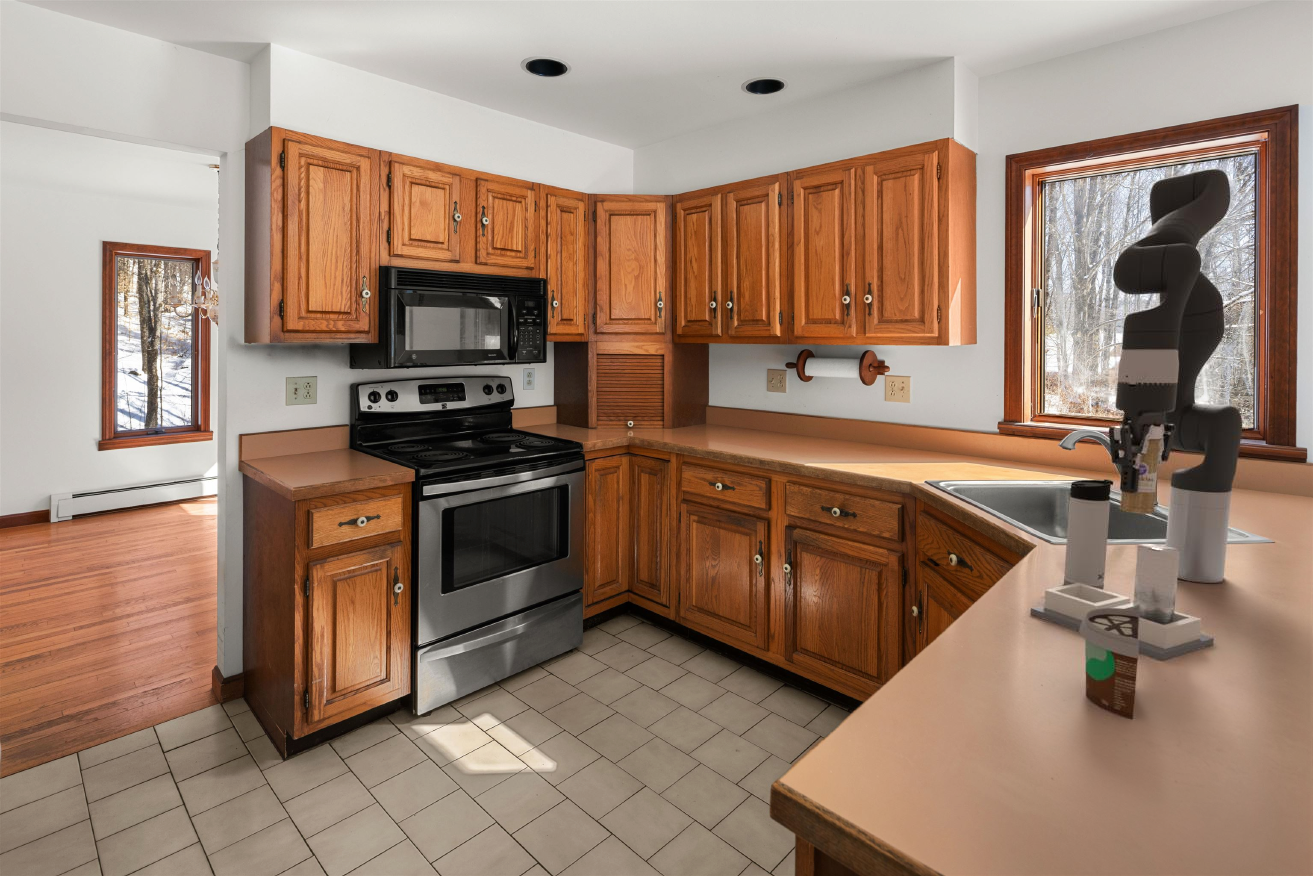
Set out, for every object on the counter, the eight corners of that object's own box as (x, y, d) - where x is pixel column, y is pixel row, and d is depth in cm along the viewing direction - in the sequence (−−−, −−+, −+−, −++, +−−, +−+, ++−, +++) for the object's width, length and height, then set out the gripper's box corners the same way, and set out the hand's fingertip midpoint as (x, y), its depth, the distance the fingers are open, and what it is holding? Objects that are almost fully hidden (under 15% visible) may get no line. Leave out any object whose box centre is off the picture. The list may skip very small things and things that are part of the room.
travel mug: (1111, 593, 126) (1119, 483, 124) (1071, 591, 127) (1078, 482, 125) (1097, 582, 132) (1104, 477, 130) (1058, 580, 133) (1065, 476, 131)
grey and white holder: (1081, 602, 122) (1082, 579, 121) (1213, 644, 104) (1215, 618, 103) (1030, 614, 116) (1031, 590, 115) (1161, 660, 98) (1163, 633, 98)
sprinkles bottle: (1123, 513, 108) (1130, 425, 107) (1115, 507, 112) (1122, 423, 111) (1158, 515, 106) (1166, 427, 105) (1149, 509, 111) (1157, 424, 109)
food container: (1078, 672, 95) (1083, 600, 93) (1134, 684, 91) (1140, 609, 90) (1070, 709, 84) (1076, 629, 83) (1132, 724, 81) (1139, 641, 80)
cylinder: (1143, 625, 108) (1150, 542, 107) (1179, 636, 104) (1187, 550, 103) (1123, 630, 106) (1130, 546, 105) (1159, 642, 102) (1166, 554, 100)
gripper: (1147, 379, 114) (1139, 483, 116) (1093, 379, 107) (1085, 490, 109) (1200, 380, 107) (1190, 491, 109) (1146, 381, 101) (1136, 499, 102)
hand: (1137, 490), depth 109 cm, fingers closed on sprinkles bottle, 4 cm apart
